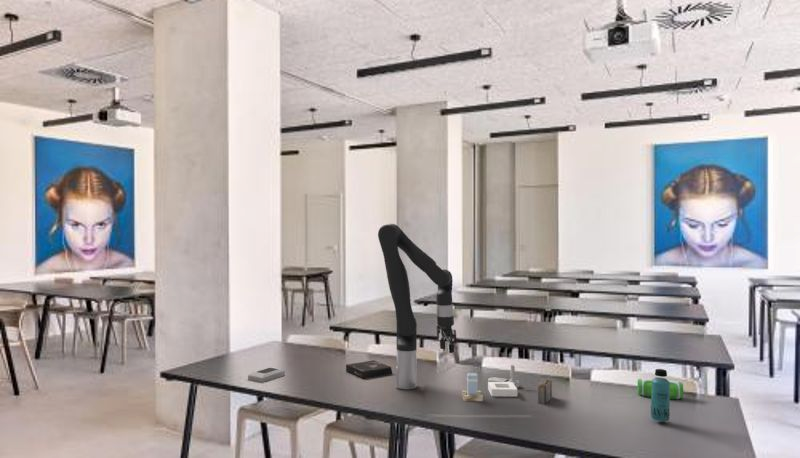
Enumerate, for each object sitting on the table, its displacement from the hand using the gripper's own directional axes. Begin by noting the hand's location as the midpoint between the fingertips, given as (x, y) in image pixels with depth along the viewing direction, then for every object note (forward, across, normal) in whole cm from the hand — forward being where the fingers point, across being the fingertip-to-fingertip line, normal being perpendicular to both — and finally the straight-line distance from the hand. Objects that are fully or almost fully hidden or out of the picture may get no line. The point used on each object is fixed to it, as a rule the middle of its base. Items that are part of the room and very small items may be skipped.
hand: (447, 350), depth 251 cm
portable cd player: (+17, -43, -23) cm, 51 cm away
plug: (+17, +16, +2) cm, 24 cm away
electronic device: (+20, +2, +27) cm, 34 cm away
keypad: (+14, -54, -71) cm, 90 cm away
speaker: (+24, +43, +80) cm, 94 cm away
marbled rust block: (+21, +28, +31) cm, 46 cm away
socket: (+19, +14, +18) cm, 30 cm away
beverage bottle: (+22, +67, +54) cm, 89 cm away
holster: (+18, +16, +2) cm, 24 cm away
